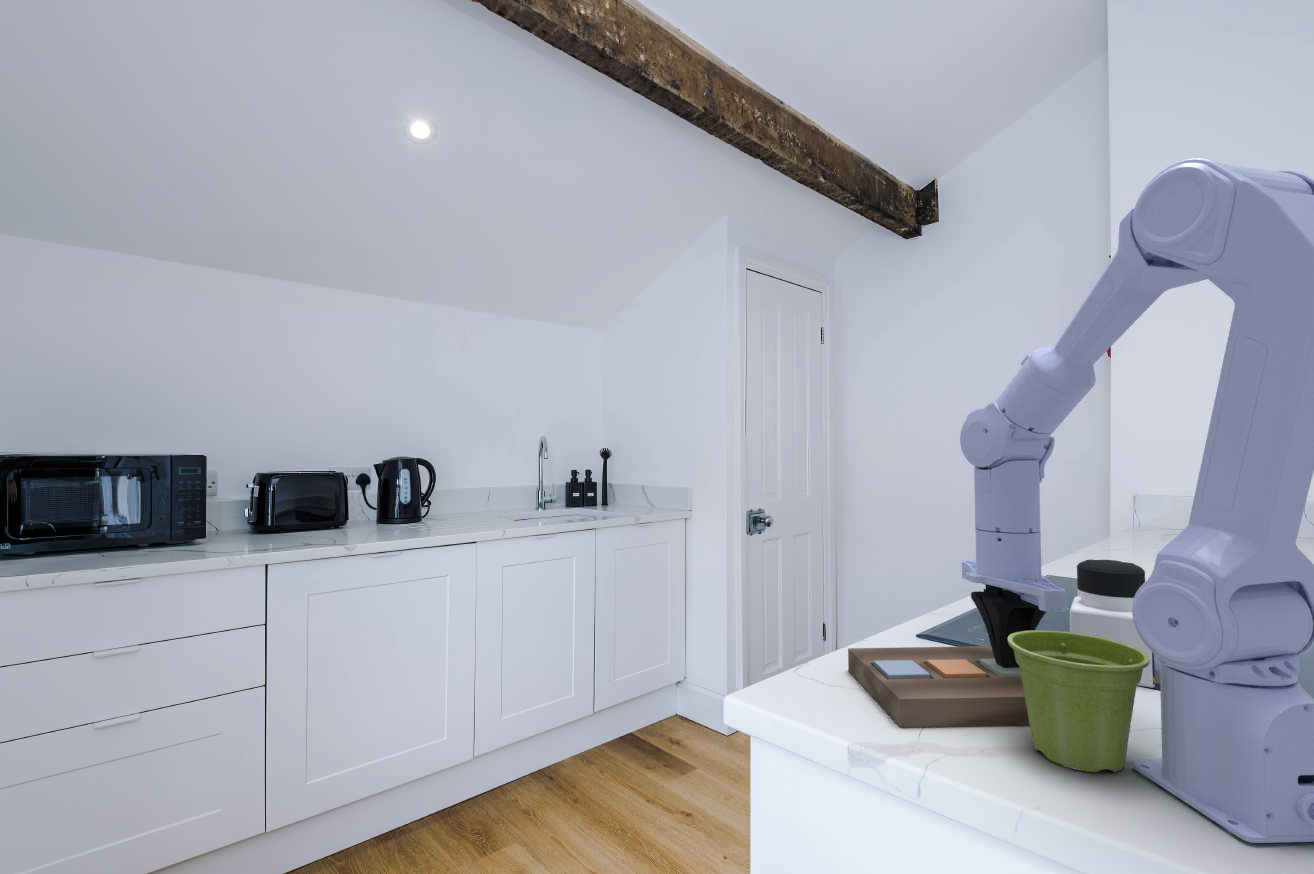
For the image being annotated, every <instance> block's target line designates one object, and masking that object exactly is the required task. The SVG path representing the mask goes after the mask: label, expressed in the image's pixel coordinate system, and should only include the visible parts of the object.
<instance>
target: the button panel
mask: <svg viewBox="0 0 1314 874" xmlns="http://www.w3.org/2000/svg"><path fill="white" fill-rule="evenodd" d="M847 653H848V654H847V659H848V660H847V661H848V663H847V665H848V667H847V668H848V672H849V673H850V675H852V677H853V678H854V679H855V680H856V681H857V682H858V683H859V684H860V685H861V687H863V689H865V691H866V692H867V693H868V694H869V695H870V696H871V697H872V699H874V701H875V702H876V703H877V704H878V705H879V706H880V707H881V708H882V709H883V711H884V712H886V714H887V715H888V716H889V717H890V718H891V719H892V720H893V721H894V722H895V723H896V725H897V726H898V727H899V728H902V729H903V728H908V729H909V728H944V727H945V728H949V727H951V728H952V727H953V728H954V727H955V728H957V727H961V728H962V727H1000V726H1001V727H1003V726H1004V727H1005V726H1006V727H1007V726H1030V725H1029V719H1028V713H1027V707H1026V701H1025V695H1024V689H1023V684H1022V678H1021V677H999V676H998V675H996V674H995V673H993V672H992V671H990V670H988V669H987V668H985V667H984V666H982V665H981V664H980V659H995V658H994V654H993V651H992V647H991V645H975V646H973V645H972V646H971V645H970V646H969V645H968V646H914V647H913V646H912V647H911V646H910V647H907V646H905V647H859V648H858V647H853V648H852V647H851V648H850V647H849V648H847ZM955 659H965V660H967V661H968V662H970V663H972V664H973V665H975V666H976V667H978V668H979V669H981V670H982V671H984V672H985V673H986V675H987V678H943V677H942V676H940V675H939V674H938V673H936V672H935V671H934V670H932V669H931V668H930V667H929V666H927V660H955ZM895 660H913V661H914V662H915V663H916V664H918V665H919V666H920V667H921V668H923V669H924V670H925V671H927V672H928V673H929V674H930V679H886V678H885V677H884V676H883V675H882V674H881V673H880V672H879V671H878V670H877V669H876V668H875V667H874V661H895Z"/></svg>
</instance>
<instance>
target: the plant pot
mask: <svg viewBox="0 0 1314 874" xmlns="http://www.w3.org/2000/svg"><path fill="white" fill-rule="evenodd" d="M1008 644H1009V645H1010V646H1011V647H1012V648H1013V650H1014V654H1015V660H1016V662H1017V664H1018V665H1019V668H1020V673H1021V678H1022V684H1023V689H1024V695H1025V701H1026V707H1027V713H1028V719H1029V725H1028V726H1029V729H1030V736H1031V743H1032V747H1033V748H1034V749H1035V751H1036V752H1037V751H1038V752H1039V751H1040V752H1041V753H1042V754H1043V755H1044V757H1046V758H1047V759H1048V760H1049V761H1051V762H1054V763H1055V764H1058V765H1061V766H1064V767H1068V768H1071V769H1074V770H1078V771H1082V772H1087V773H1088V772H1089V773H1098V772H1100V771H1102V770H1110V771H1111V772H1114V773H1116V772H1119V771H1120V770H1123V768H1124V767H1125V765H1126V759H1127V752H1128V751H1127V750H1128V746H1129V744H1128V743H1129V738H1130V737H1129V736H1130V731H1131V723H1132V718H1133V712H1134V706H1135V705H1134V704H1135V699H1136V692H1137V686H1138V685H1137V684H1138V683H1139V682H1140V681H1141V676H1142V671H1143V668H1146V667H1147V666H1148V665H1149V663H1150V658H1149V656H1148V655H1147V654H1146V653H1145V652H1143V651H1141V650H1139V649H1137V648H1135V647H1132V646H1130V645H1127V644H1124V643H1121V642H1117V641H1113V640H1109V639H1105V638H1101V637H1096V636H1091V635H1085V634H1079V633H1072V632H1070V631H1063V630H1045V629H1043V630H1038V629H1037V630H1032V631H1021V632H1016V633H1013V634H1010V635H1009V636H1008Z"/></svg>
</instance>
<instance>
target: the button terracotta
mask: <svg viewBox="0 0 1314 874" xmlns="http://www.w3.org/2000/svg"><path fill="white" fill-rule="evenodd" d="M927 666H929V667H930V668H931V669H932V670H934V671H935V672H936V673H938V674H939V675H940V676H942V677H943V678H987V675H986V673H985V672H984V671H982V670H981V669H979V668H978V667H976V666H975V665H973V664H972V663H970V662H968V661H967V660H965V659H955V660H927Z"/></svg>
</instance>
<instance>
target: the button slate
mask: <svg viewBox="0 0 1314 874" xmlns="http://www.w3.org/2000/svg"><path fill="white" fill-rule="evenodd" d="M874 667H875V668H876V669H877V670H878V671H879V672H880V673H881V674H882V675H883V676H884V677H885V678H886V679H930V674H929V673H928V672H927V671H925V670H924V669H923V668H921V667H920V666H919V665H918V664H916V663H915V662H914V661H913V660H895V661H874Z"/></svg>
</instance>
